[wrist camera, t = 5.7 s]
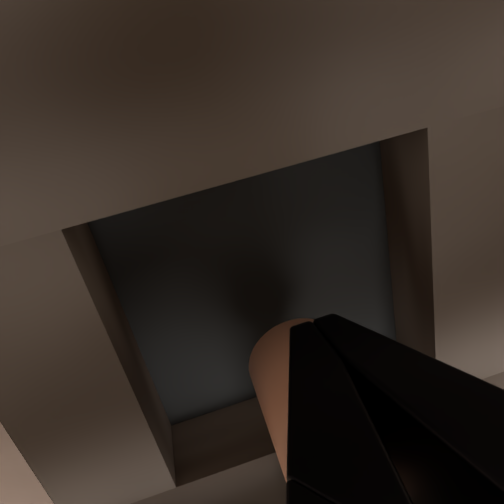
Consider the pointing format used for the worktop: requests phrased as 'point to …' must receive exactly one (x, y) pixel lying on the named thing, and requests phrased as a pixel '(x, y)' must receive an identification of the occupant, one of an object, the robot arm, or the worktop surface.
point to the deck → (232, 219)
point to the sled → (274, 383)
